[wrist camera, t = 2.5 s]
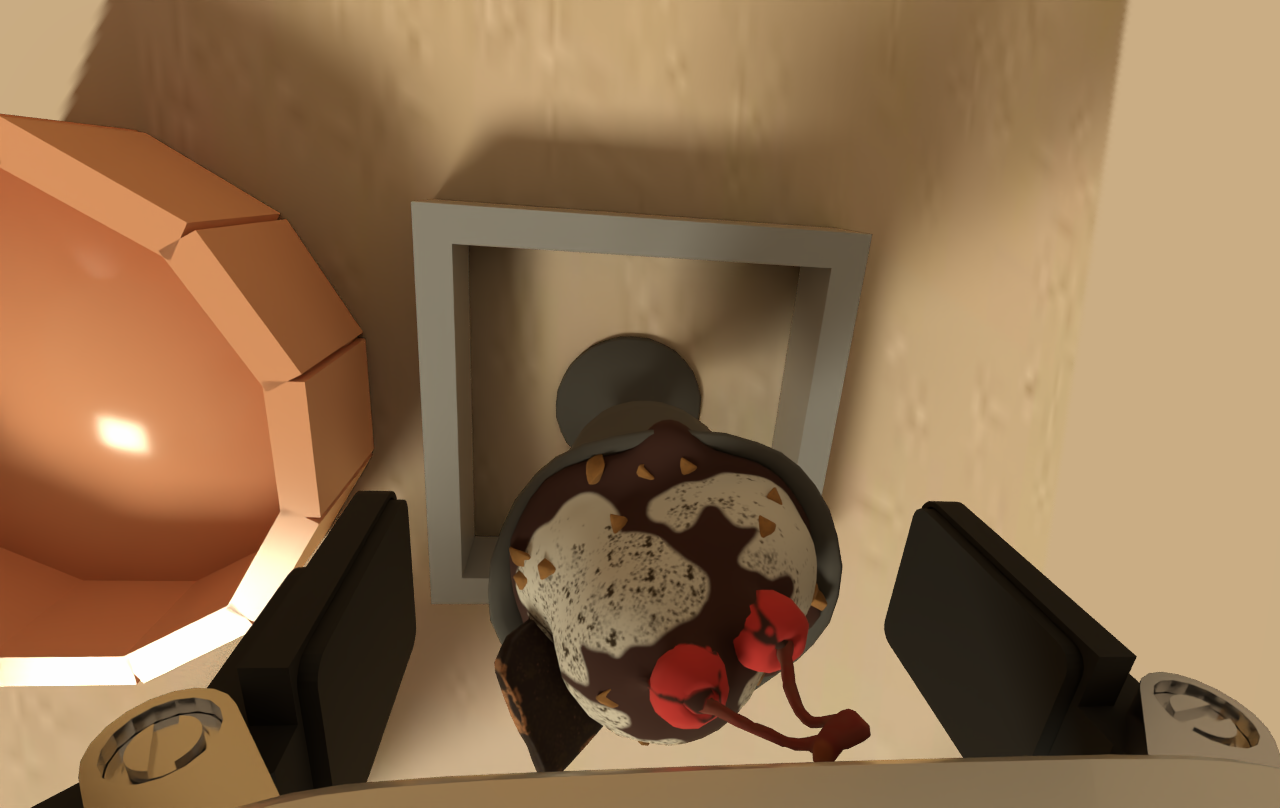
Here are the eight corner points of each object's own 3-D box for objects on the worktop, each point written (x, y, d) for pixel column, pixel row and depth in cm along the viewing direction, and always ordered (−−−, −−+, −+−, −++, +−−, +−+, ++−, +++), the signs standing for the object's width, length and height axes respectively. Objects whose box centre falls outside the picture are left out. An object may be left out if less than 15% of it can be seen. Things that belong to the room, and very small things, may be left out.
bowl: (385, 588, 22) (339, 681, 18) (-73, 586, 21) (-239, 689, 17) (349, 147, 17) (275, 135, 13) (-258, 98, 16) (-565, 67, 12)
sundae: (736, 314, 20) (1098, 618, 6) (711, 495, 22) (933, 1025, 8) (533, 300, 19) (408, 613, 5) (529, 489, 22) (430, 1062, 8)
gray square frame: (778, 562, 24) (800, 604, 21) (446, 559, 22) (431, 604, 20) (837, 228, 19) (872, 234, 17) (432, 198, 18) (410, 201, 16)
